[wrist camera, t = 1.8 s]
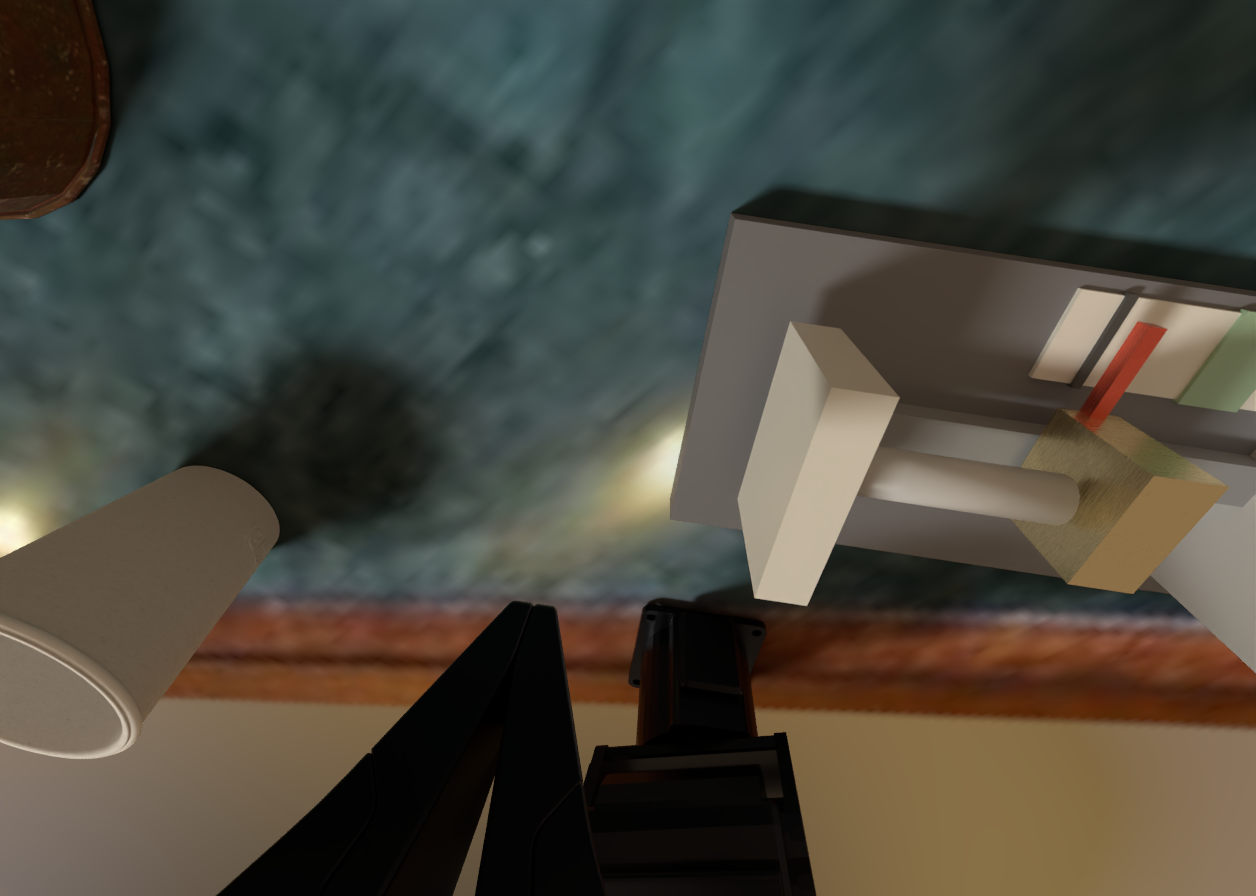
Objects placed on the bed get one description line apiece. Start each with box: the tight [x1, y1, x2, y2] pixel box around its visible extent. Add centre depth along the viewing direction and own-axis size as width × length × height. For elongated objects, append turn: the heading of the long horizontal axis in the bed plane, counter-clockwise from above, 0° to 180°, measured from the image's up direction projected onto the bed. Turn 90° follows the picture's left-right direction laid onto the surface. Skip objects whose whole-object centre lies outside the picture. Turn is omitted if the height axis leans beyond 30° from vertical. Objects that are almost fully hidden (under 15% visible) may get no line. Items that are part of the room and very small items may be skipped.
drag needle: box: [1011, 321, 1229, 594], centre depth 16 cm, size 7×2×4 cm, turn 173°
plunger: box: [738, 321, 1080, 606], centre depth 16 cm, size 7×9×5 cm
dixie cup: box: [0, 466, 280, 759], centre depth 22 cm, size 8×8×10 cm
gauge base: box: [670, 213, 1256, 673], centre depth 17 cm, size 12×24×8 cm, turn 83°
